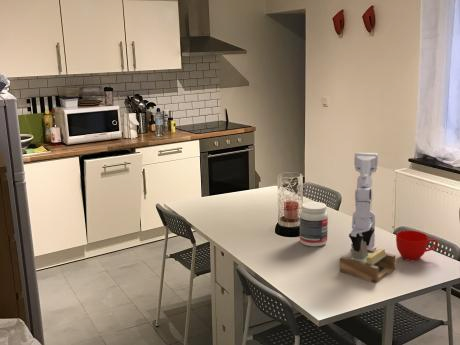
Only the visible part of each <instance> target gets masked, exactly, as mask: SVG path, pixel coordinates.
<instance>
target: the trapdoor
mask: <svg viewBox="0 0 460 345" xmlns="http://www.w3.org/2000/svg"><path fill="white" fill-rule="evenodd" d="M376 250H377V251H375V252H374V253H369V252H368V256H367V257H365V258H364V259H357V258H353V257H351V258H350V259H353V260H357V261H360V262H364V263H367V264H370V265H374V264H375V263H377V262H378V261H379V260H381V259H382V258H384V257H385V256H386V254H385V252H386V250H385V249H384V248H378V249H376ZM374 266H375V265H374Z"/></svg>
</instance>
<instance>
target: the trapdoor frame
mask: <svg viewBox="0 0 460 345" xmlns="http://www.w3.org/2000/svg"><path fill="white" fill-rule="evenodd" d="M377 250H378V249H371V248H367V252H369V253H374V252H375V251H377ZM385 254H386V256H385V257H384V258H382V259H381V260H379V261H378V262H377V263H375V264H374V265H370V264H367V263H364V262H360V261H357V260H353V259H351V258H350V257H345V256H341V257H339V272H340V273H343V274H346V275H350V276H353V277H356V278H358V279H363V280H366V281H369V282H372V283H375V284H376V283H378V282H379V281H380V280H381V279H383V278H385V277H386V276H387V275H388V274H390V273H391V272H392V271H394V270H395V269H396V255H395V254H393V253H389V252H386V251H385ZM379 268H383V269H382V270H381V271H379Z"/></svg>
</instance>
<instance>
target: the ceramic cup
mask: <svg viewBox="0 0 460 345" xmlns="http://www.w3.org/2000/svg"><path fill="white" fill-rule="evenodd" d="M395 236H396V237H395V242H396V248H397V251H398V253H399V255H400V256H401V257H402V258H403V259H404V260H407V261H411V262H412V261H418V260H420V259H421V257H423V256H424V254H425V253H427V252H430V251H432V250H435V249H436V248H437V246H438V244H439V242H438V241H437V239H435V238H430V239H429V236H428V235H427V234H426V233H425V232H420V231H417V230H416V231H415V230H403V231H402V230H401V231H398V232H397V233H396V235H395ZM431 242H435V244H434V246H432V247H431V248H428V245H429V243H431Z"/></svg>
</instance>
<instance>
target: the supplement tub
mask: <svg viewBox="0 0 460 345" xmlns="http://www.w3.org/2000/svg"><path fill="white" fill-rule="evenodd" d="M328 221H329V214H328V212H327V205H326V204H325V203H324V202H319V201H308V202H304V203H302V204H301V211H300V212H299V241H300V243H301V244H302V245H305V246H308V247H322V246H324V245H325V244H327V242H328V227H329V226H328V225H329V222H328Z"/></svg>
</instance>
